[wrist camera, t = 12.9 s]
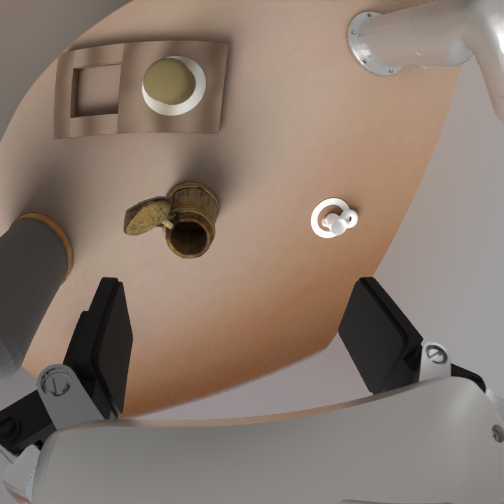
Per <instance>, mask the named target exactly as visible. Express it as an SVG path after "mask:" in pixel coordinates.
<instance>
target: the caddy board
mask: <svg viewBox="0 0 504 504" xmlns="http://www.w3.org/2000/svg"><path fill="white" fill-rule="evenodd" d="M228 47H229V43H222V42H207V41H147V42H132V43H121V44H112V45H104V46H97V47H90V48H84V49H79V50H73V51H68V52H64V53H59V57H58V65H57V75H56V87H55V106H54V139H60V138H68V137H78V136H89V135H102V134H119V133H151V132H177V133H210V134H219V126H220V116H221V106H222V97H223V88H224V79H225V71H226V63H227V55H228ZM163 58H175V59H179V60H180V61H182V62H183V63H185V64H186V66H187V67H188V69H189V70H190V71H191V72H192V73H193V75H194V76H195V80H196V86H195V90H194V92H193V95H192V96H191V97H190V98H189V99H188V100H187V101H185V102H184V103H181V104H178V105H167V104H164V103H162V102H160V101H157V100H154V99H152V98H151V97H149V96H148V94H147V93H146V92H145V90H144V86H143V77H144V74H145V72H146V70H147V69H148V68H149V66H150V65H151V64H152V63H154V62H155V61H157V60H159V59H163ZM118 64H122V67H121V77H120V88H119V102H118V113H115V114H102V115H91V116H81V117H76V114H77V93H78V79H79V69H85V68H92V67H100V66H108V65H118Z"/></svg>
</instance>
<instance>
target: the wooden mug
mask: <svg viewBox="0 0 504 504" xmlns="http://www.w3.org/2000/svg"><path fill="white" fill-rule="evenodd" d="M218 213H219V202H218V198H217V197H216V195H215V194H214V192H212V191H211V190H210V189H209V188H208V187H206V186H205V185H202V184H200V183H197V182H186V183H182V184H179V185H177V186H176V187H174V188H172V189H171V190H170V191H169V192H168V193H167V195H166V197H162V196H160V197H155V198H151V199H147V200H144V201H142V202H139V203H138V204H136V205H134V206H133V207H131V208H129V209H127V211H126V214H125V219H124V232H125V234H128V235H140V234H143V233H145V232H147V231H149V230H151V229H153V228H154V227H163V235H164V238H165V240H166V242H167V244H168V247H169V248H170V249H171V251H173V252H174V253H175V254H176V255H178V256H180V257H182V258H196V257H200V256H202V255H203V254H204V253H205V252H206V251H207V250H208V249H209V247H210V245H211V243H212V241H213V239H214V236H215V222H216V219H217V216H218Z"/></svg>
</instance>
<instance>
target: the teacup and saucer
mask: <svg viewBox="0 0 504 504" xmlns="http://www.w3.org/2000/svg"><path fill="white" fill-rule="evenodd" d="M332 204H333V205H338V206H339V207H340V208H341V209H342V210H343V212H342V213H341V214H340V216H338V215H337V214H334V213H331V214H328V215H327V216H326V218H324V219H323V220H322V225H323V226H326V227H328V228H329V229H330V232H326V231H323V230H322V229H320V227H319V226H318V223H317V218H318V214H319V213H320V211H321V210H322V209H323V208H324V207H326V206H328V205H332ZM350 216H351V217H352V219H351V221H349V220H350ZM324 221H326V223H324ZM357 221H358V215H357V213H356V212H355V211H354V210H351V209H349V207H348V205H347V204H346V203H345V202H344V201H343V200H341V199H338V198H329V199H326V200H324V201H322V202H321V203H320V204H319V205H318V206H317V207H316V208H315V209H314V211H313V214H312V217H311V225H312V228H313V230H314V232H315V233H316V234H317V235H319V236H321V237H324V238H331V237H335V236H337V235H340V234H342V233H344V231H345V230H346V228H351V227H353V226H355V225H356V223H357Z"/></svg>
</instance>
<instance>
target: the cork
mask: <svg viewBox="0 0 504 504" xmlns="http://www.w3.org/2000/svg"><path fill="white" fill-rule="evenodd" d="M143 86H144V90H145V92H146V93H147V94H148V96H149V97H151V98H152V99H154V100H157V101H160V102H162V103H164V104H167V105H178V104H181V103H184V102H185V101H187V100H188V99H189V98H190V97H191V96H192V95H193V92H194V90H195V86H196V80H195V76H194V75H193V73H192V72H191V71H190V70H189V69H188V67H187V66H186V64H185V63H183V62H182V61H180V60H179V59H175V58H163V59H159V60H157V61H155V62H154V63H152V64H151V65H150V66H149V68H148V69H147V70H146V72H145V74H144V77H143Z"/></svg>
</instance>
